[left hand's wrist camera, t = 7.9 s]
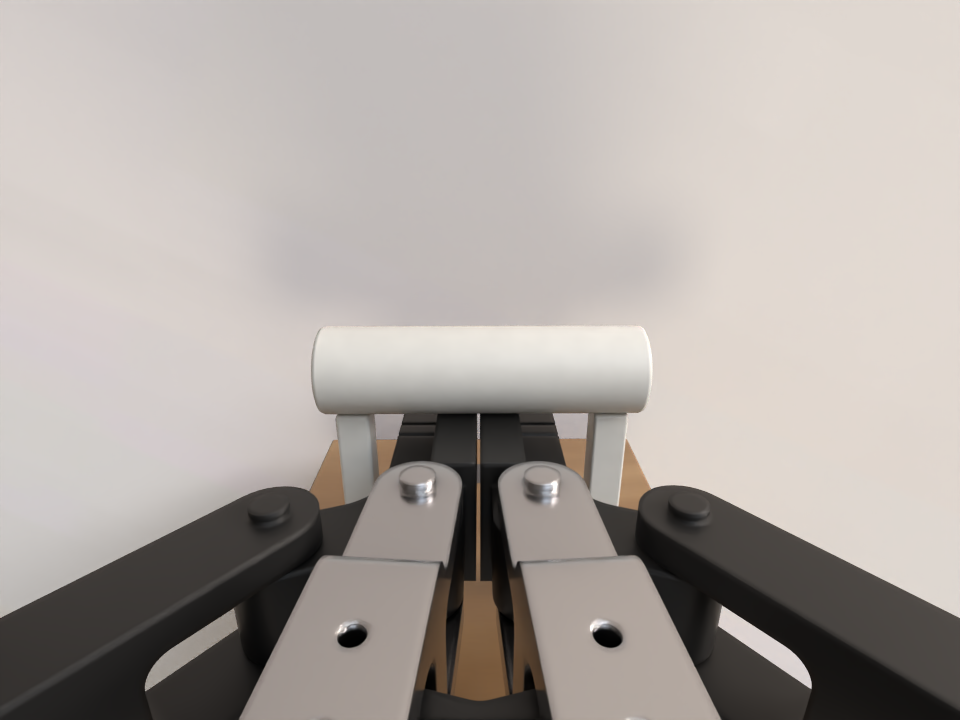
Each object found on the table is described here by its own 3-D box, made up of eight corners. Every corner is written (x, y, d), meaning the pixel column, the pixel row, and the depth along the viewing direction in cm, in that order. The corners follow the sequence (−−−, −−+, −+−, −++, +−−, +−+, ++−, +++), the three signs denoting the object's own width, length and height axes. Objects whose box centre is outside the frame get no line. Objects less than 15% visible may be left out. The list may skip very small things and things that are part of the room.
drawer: (310, 251, 16) (123, 389, 7) (647, 250, 16) (840, 387, 7) (371, 780, 24) (316, 1121, 16) (589, 779, 24) (648, 1118, 16)
